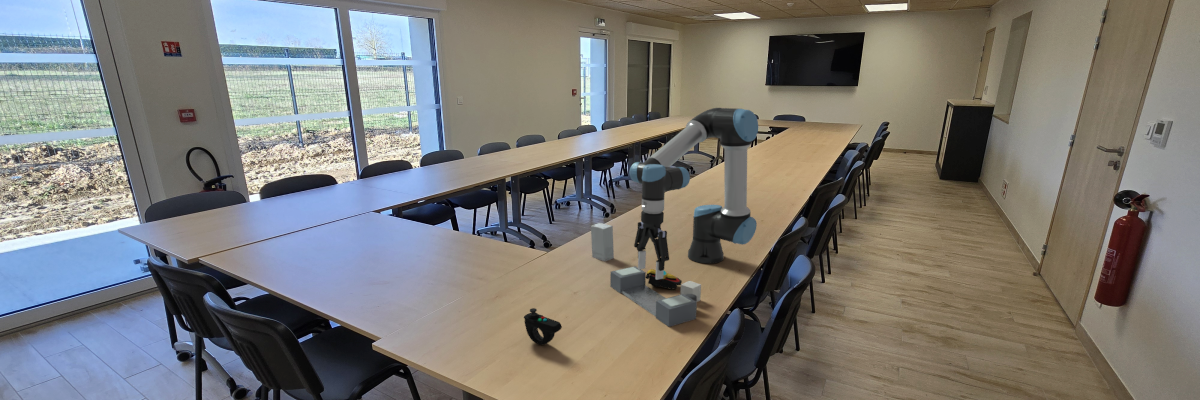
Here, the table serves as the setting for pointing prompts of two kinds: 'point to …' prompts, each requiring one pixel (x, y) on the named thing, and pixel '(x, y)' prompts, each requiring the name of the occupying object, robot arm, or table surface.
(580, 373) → the table surface
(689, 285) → the block
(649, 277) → the gadget
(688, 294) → the dark grey pebble
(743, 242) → the robot arm
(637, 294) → the rail
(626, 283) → the block
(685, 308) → the block
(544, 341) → the controller
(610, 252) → the skincare box
